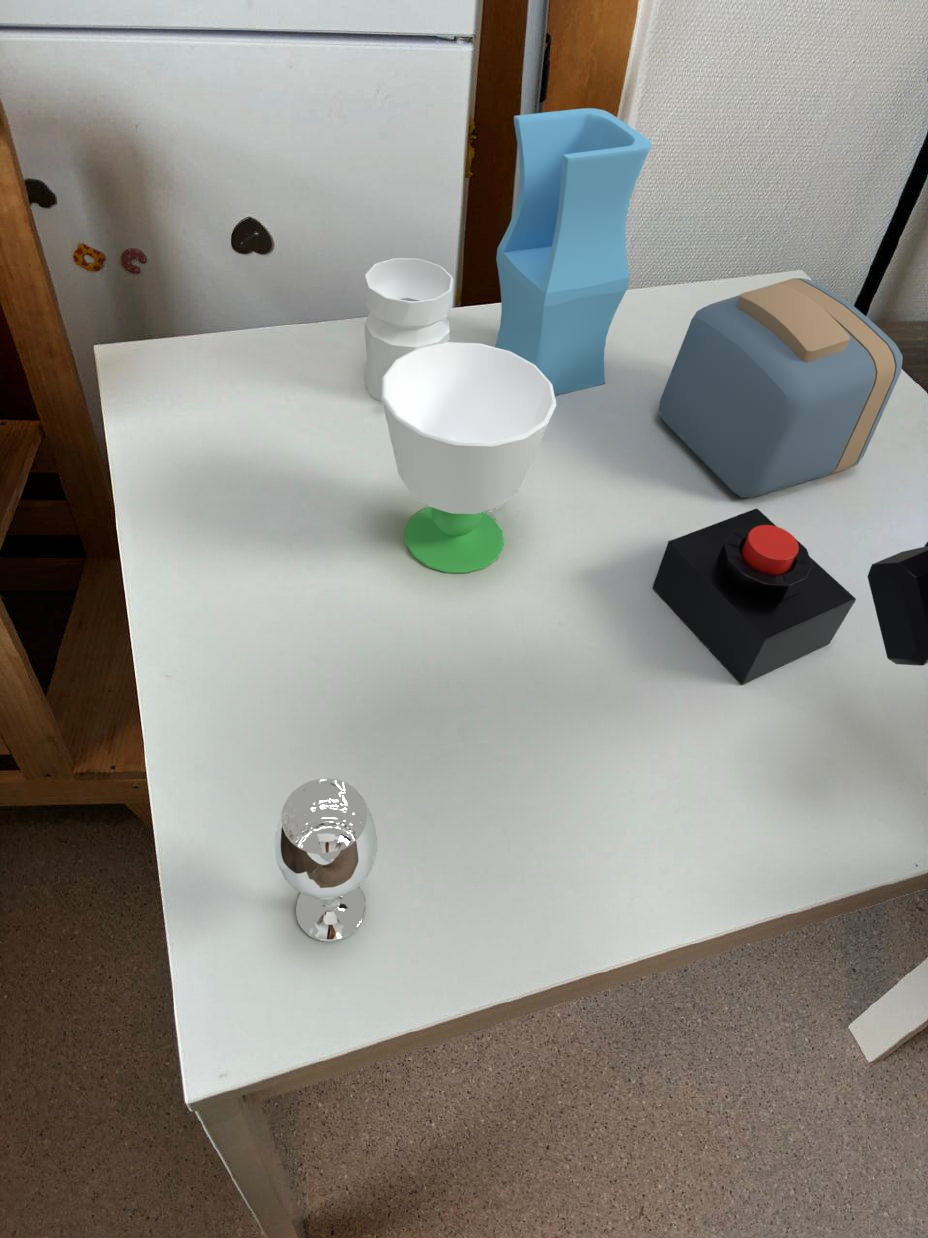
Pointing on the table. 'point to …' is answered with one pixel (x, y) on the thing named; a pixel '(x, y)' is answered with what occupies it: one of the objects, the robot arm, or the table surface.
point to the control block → (749, 599)
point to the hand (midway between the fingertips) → (883, 575)
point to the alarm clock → (780, 386)
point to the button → (770, 549)
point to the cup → (463, 444)
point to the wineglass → (326, 855)
